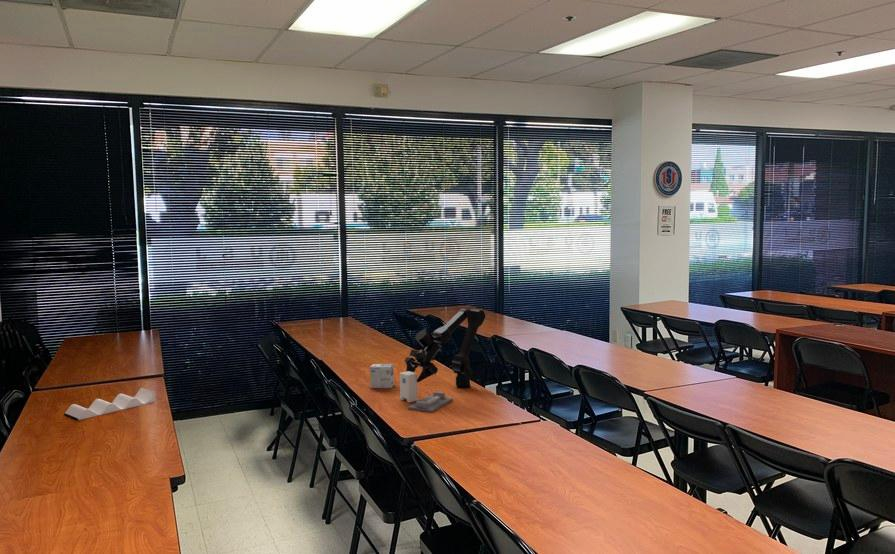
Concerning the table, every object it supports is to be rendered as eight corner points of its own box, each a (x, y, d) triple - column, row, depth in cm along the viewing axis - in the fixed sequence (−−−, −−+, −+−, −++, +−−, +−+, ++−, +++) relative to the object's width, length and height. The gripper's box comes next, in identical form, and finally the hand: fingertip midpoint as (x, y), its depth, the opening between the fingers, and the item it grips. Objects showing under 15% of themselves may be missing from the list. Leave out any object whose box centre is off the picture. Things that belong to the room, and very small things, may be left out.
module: (408, 397, 311) (408, 371, 310) (417, 400, 306) (417, 373, 305) (399, 399, 308) (398, 373, 306) (407, 402, 303) (407, 375, 301)
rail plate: (429, 397, 311) (429, 390, 310) (452, 400, 305) (452, 393, 305) (407, 409, 293) (407, 401, 293) (432, 412, 288) (432, 404, 287)
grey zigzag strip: (62, 416, 291) (61, 405, 291) (141, 398, 318) (140, 387, 318) (75, 422, 283) (74, 410, 283) (155, 402, 310) (154, 392, 310)
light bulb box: (394, 384, 334) (393, 363, 333) (391, 388, 327) (391, 366, 326) (373, 384, 335) (372, 363, 334) (370, 388, 328) (369, 366, 327)
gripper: (407, 339, 316) (388, 366, 310) (432, 345, 302) (413, 373, 296) (420, 353, 322) (402, 380, 316) (445, 360, 308) (427, 387, 302)
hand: (411, 380), depth 307 cm, fingers open, 9 cm apart
